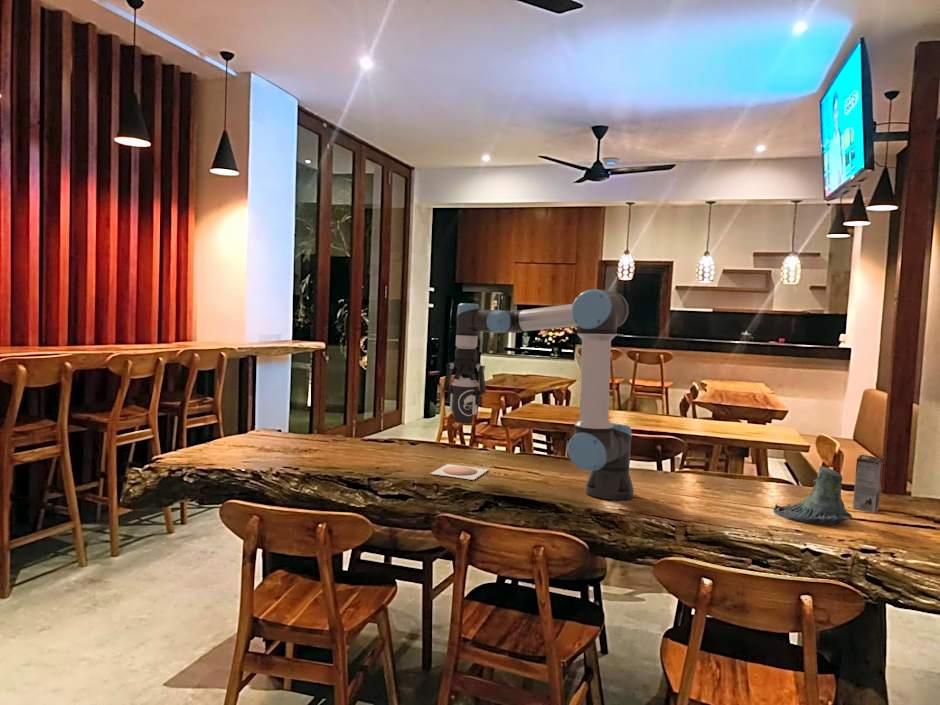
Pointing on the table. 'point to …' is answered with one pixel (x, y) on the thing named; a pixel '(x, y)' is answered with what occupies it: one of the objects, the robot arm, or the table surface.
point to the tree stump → (819, 502)
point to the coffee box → (868, 483)
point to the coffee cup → (463, 399)
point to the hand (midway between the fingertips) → (463, 412)
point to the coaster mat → (460, 471)
